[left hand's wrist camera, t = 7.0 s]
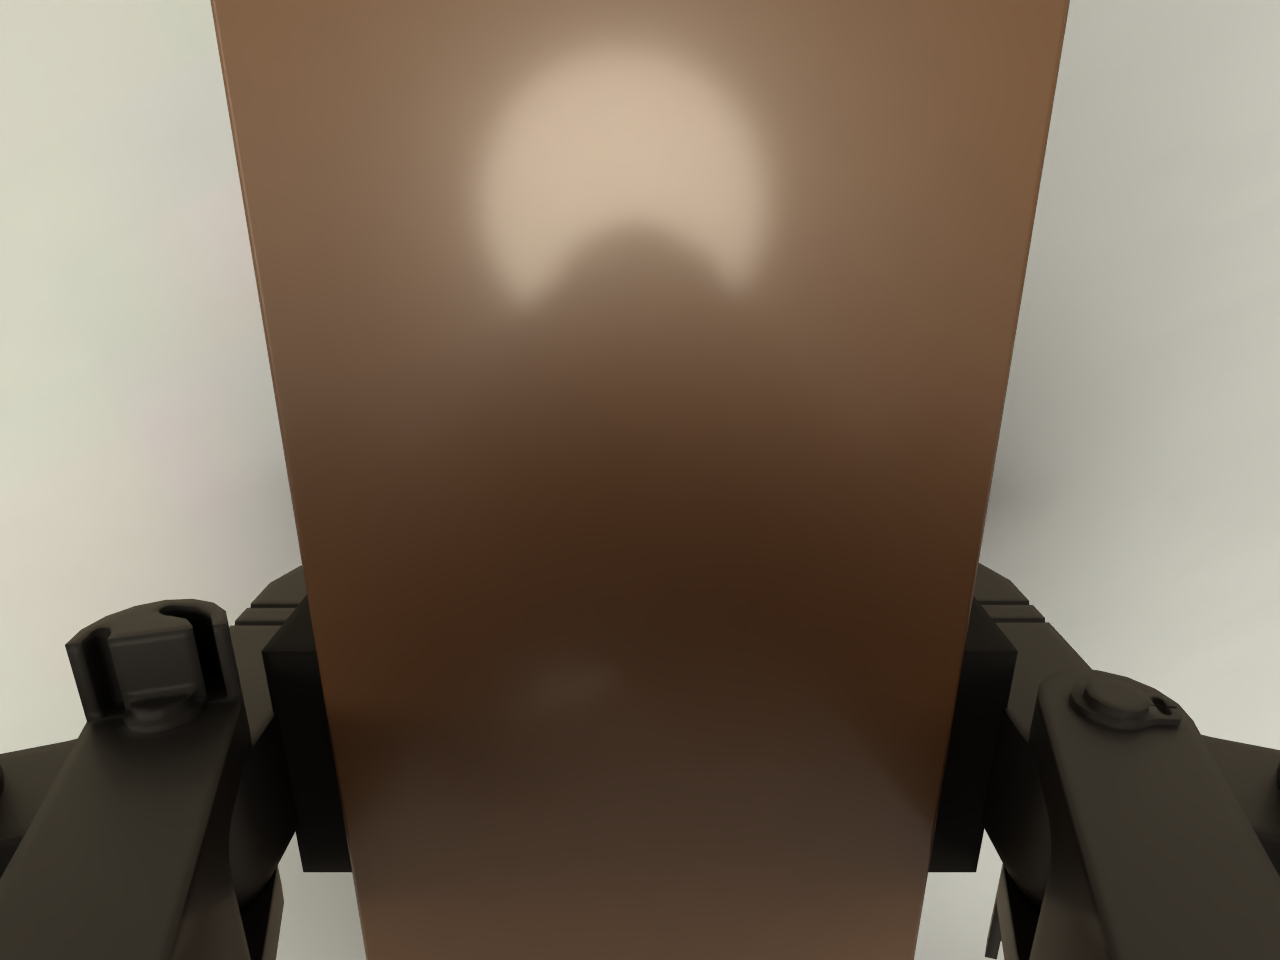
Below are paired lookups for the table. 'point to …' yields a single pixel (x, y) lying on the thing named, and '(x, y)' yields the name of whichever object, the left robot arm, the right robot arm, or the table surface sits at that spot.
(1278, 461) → the table surface
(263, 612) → the left robot arm
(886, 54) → the post
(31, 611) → the table surface
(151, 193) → the table surface
